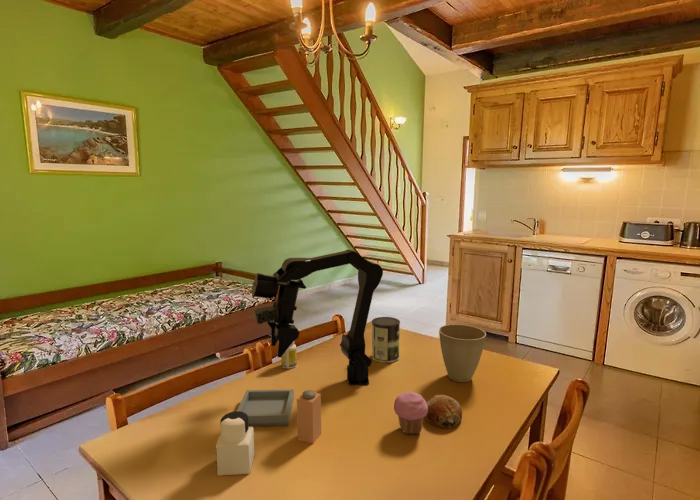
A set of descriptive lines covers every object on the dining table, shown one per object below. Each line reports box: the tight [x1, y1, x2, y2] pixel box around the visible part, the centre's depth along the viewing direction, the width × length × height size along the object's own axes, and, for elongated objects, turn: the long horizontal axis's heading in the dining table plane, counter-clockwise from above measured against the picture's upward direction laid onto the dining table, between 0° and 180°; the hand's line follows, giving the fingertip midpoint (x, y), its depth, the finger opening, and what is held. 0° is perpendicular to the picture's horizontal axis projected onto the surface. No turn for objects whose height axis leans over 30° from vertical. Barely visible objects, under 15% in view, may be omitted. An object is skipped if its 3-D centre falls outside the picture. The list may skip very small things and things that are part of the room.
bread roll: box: [425, 394, 463, 429], centre depth 112 cm, size 10×10×8 cm
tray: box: [236, 388, 295, 427], centre depth 115 cm, size 14×14×3 cm
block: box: [296, 389, 322, 445], centre depth 103 cm, size 4×4×12 cm
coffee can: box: [371, 316, 401, 364], centre depth 151 cm, size 10×10×14 cm
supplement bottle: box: [280, 340, 298, 370], centre depth 144 cm, size 5×5×10 cm
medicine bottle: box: [215, 410, 255, 476], centre depth 92 cm, size 7×7×12 cm
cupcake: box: [393, 391, 428, 435], centre depth 106 cm, size 9×9×10 cm
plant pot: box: [438, 323, 487, 383], centre depth 134 cm, size 15×15×16 cm
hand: (276, 351), depth 122 cm, fingers open, 9 cm apart
